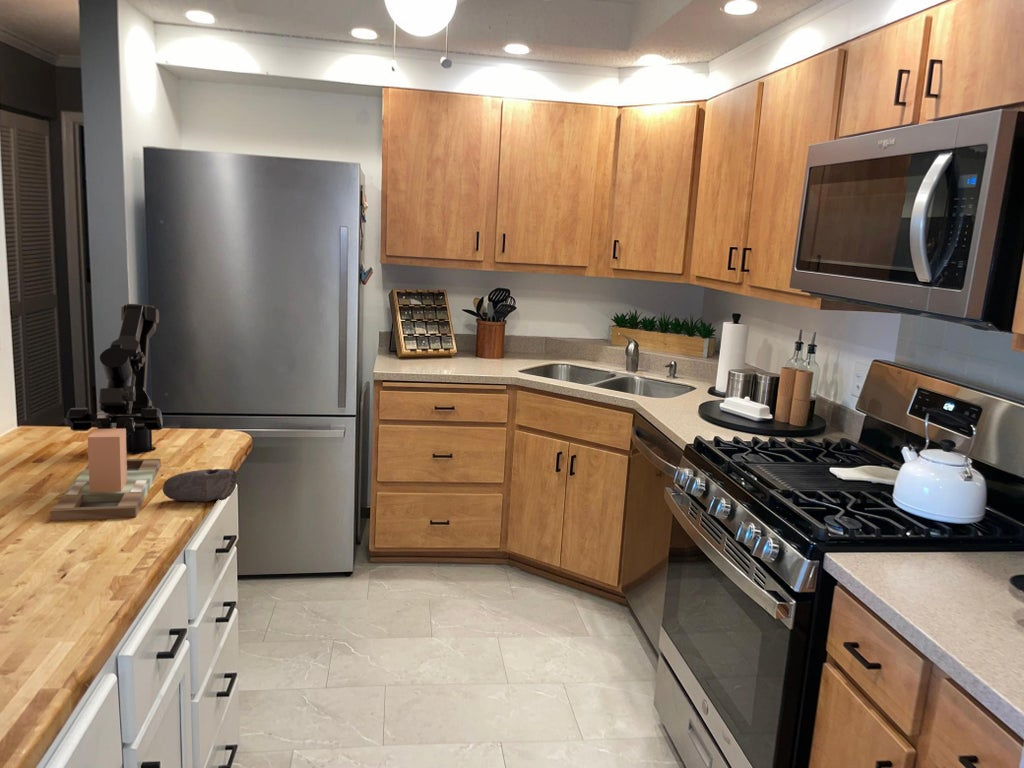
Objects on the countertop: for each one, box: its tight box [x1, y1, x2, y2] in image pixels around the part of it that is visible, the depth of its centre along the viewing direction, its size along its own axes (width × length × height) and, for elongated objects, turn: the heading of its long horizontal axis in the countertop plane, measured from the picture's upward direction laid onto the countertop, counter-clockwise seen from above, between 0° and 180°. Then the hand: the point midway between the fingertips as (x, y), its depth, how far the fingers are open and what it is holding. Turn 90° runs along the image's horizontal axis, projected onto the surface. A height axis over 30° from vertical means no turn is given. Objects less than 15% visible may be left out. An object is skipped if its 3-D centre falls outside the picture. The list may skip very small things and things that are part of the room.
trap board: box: [50, 458, 162, 522], centre depth 166 cm, size 35×15×2 cm, turn 17°
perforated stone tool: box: [161, 468, 238, 503], centre depth 164 cm, size 15×5×7 cm, turn 104°
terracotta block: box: [87, 428, 128, 492], centre depth 162 cm, size 7×6×12 cm
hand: (111, 452), depth 165 cm, fingers closed, pressing on terracotta block
